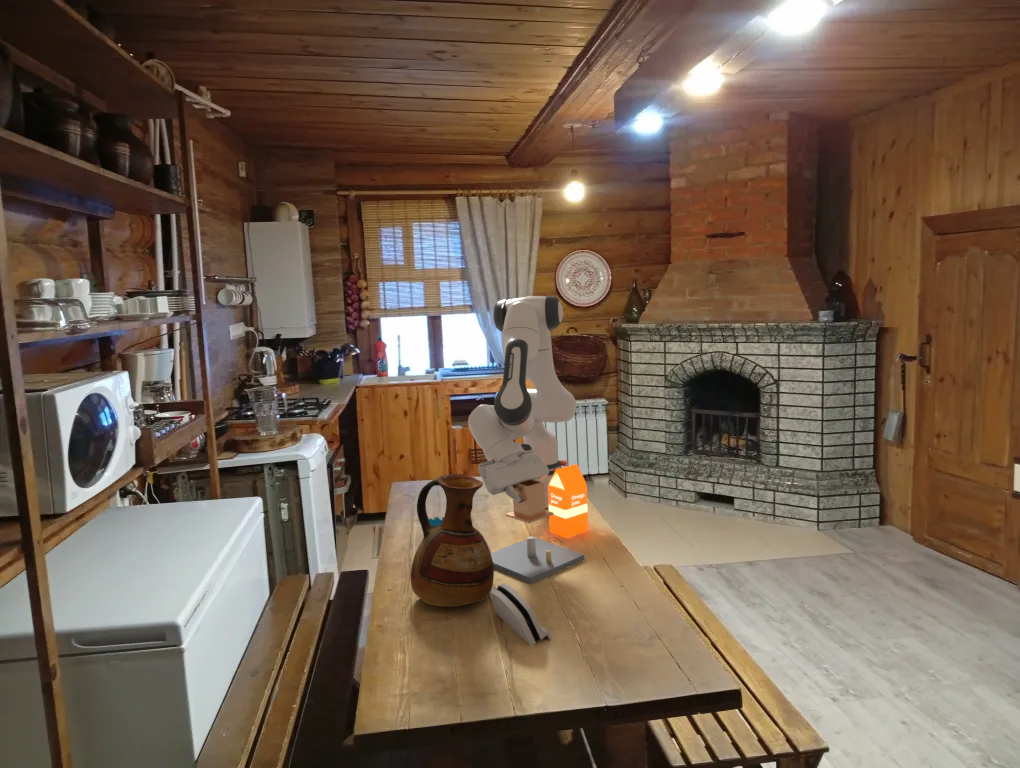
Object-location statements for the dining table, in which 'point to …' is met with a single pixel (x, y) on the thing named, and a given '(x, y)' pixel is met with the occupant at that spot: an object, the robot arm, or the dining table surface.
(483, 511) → the dining table surface
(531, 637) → the half-moon napkin holder
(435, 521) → the gear
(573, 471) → the orange juice
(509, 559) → the base plate
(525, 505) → the copper sleeve
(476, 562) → the ceramic pitcher
